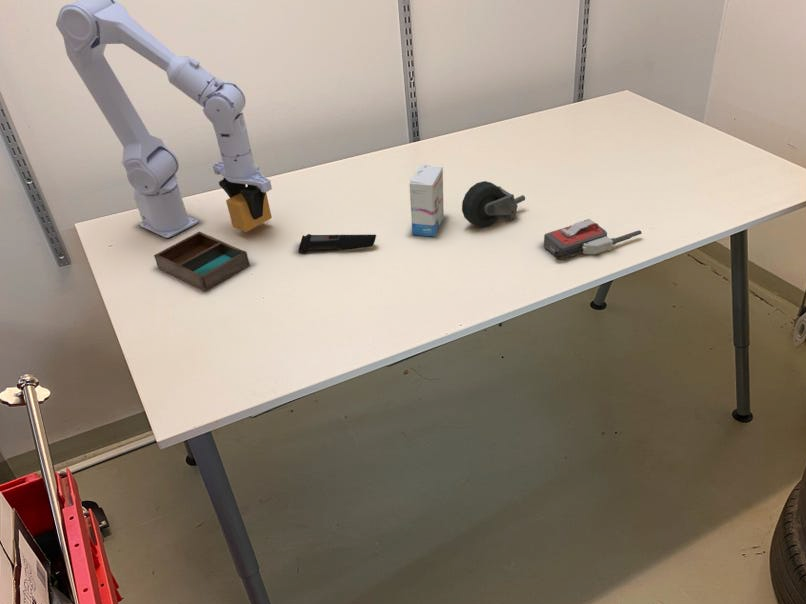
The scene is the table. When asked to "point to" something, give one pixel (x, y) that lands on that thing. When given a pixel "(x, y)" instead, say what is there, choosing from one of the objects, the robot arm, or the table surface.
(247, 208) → the carton
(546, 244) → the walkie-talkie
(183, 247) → the organizer
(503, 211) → the caster wheel
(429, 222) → the ink box
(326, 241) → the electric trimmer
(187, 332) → the table surface
